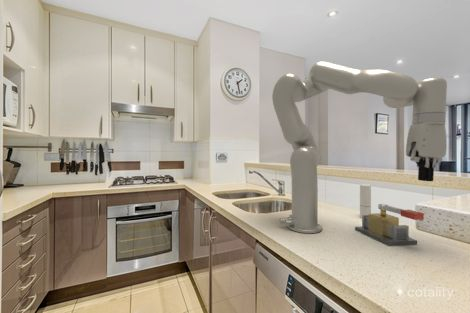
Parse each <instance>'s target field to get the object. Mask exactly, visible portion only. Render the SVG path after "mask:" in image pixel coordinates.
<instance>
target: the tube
mask: <svg viewBox="0 0 470 313" xmlns="http://www.w3.org/2000/svg"><path fill="white" fill-rule="evenodd" d="M371 188H372V184H362V183H361V184H359V218H360V219H362V215H369V214H372V189H371Z"/></svg>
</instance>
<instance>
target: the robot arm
mask: <svg viewBox="0 0 470 313" xmlns="http://www.w3.org/2000/svg"><path fill="white" fill-rule="evenodd" d="M308 74H309V76H308V77H307V78H304V79H301V78H300V77H299V76H298V75H296V74H294V73H286V74H283V75H282V76H280V77H279V79H278V80H277V81H276V83H275V84H274V86H273V90H272V96H271V97H272V98H271V99H272V105H273V109H274V112H275V114H276V117H277V120H278V122H279V123H278V124H279V126H280V129H281V132H282V135H283V137H284V140H285V141H286V142H287V144H290V145H291V146H292V149H293V151H292V152H291V154H290V161H289V162H290V163H289V164H290V171H291V173H290V174H291V214H289V215H288V217H280V218H279V223H280V224H285V225H287V228H288V229H289V230H291V231H293V232H297V233H302V234H317V233H320V232H322V231H323V226H322V225H321V224H319V220H318V216H319V215H318V214H319V212H318V211H319V210H318V203H319V202H318V201H319V200H318V196H319V194H318V193H319V191H318V190H319V189H318V166H319V165H320V163H321V154H320V152H319V151H320V150H319V149H318V146H317V143H316V140H315V139H314V136H313V134H312V131H311V130H310V128H309V126H307V125H306V124H305V123H304V121H303V119H302V117H301V115H300V111H299V108H298V107H297V105H296V103H299V102H300V103H301V102H303V101H305V100H308V99H310V98H314V97H315V96H318V95H320V94H322V93H324V92H326V91H328V90H329V89H330V90H333V91H337V92H339V93H343V94H346V95H354V94H358V93H367V94H371V95H377V96H381V97H383V98H382V100H383V103H384V105H386V107H388V108H391V109H400V108H405V107H411V106H412V115H411V116H412V122H411V124H410V125H409V129H408V134H407V137H406V146H405V155H406V156H407V157H409V158H410V161H411V162H415V163H416V167H417V169H418V172H417V173H418V174H417V180H418V181H423V182H434V176H435V175H434V173H435V171H434V170H435V168H436V166H437V164H438V163H441V162H443V158H444V157H445V156H446V155H447V130H446V126H445V125H446V115H447V114H446V113H447V88H448V83H447V80H446V79H445V78H443V77H430V78H426V79H422V80H419V81H417V80H416V79H415V78H413V77H412V76H409V75H407V74H404V73H399V72H394V71H391V70H385V69H371V68H370V69H364V68H363V69H361V68H360V69H358V68H354V67H350V66H346V65H343V64H338V63H334V62H328V61H324V60H320V61H317V62H315V63H314V64H313V65H312V66H311V67H310V70H309V73H308Z"/></svg>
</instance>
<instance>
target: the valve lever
mask: <svg viewBox="0 0 470 313" xmlns="http://www.w3.org/2000/svg"><path fill="white" fill-rule="evenodd" d="M378 209H379V210H386V212H387V211H388V212H391V213H394V214H398V215H400V217H404V218H407V219H411V220H413V221H419V220H422V221H423V220H424V219H425V217H424V212H420V211H417V212H416V210H413V209H402V208H398V207H394V206H391V205H388V204H384V203H378Z"/></svg>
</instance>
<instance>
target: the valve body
mask: <svg viewBox="0 0 470 313" xmlns="http://www.w3.org/2000/svg"><path fill="white" fill-rule="evenodd" d="M379 210H380V212H378V213H371V214H369V215H362V218H361V223H362V225H361V226H354V230H355V231H356V232H358V233H361V234H362V235H365V236H367V237H369V238H372V239H374V240H375V241H377V242H379V243H381V244H384V245H386V246H388V247H394V246H398V247H399V246H414V245H418V240H417V239H414V238H412V237H409V236H410V229H409V227H410V226H409V225H406V224H402V225H401V224H400V218H399V217H398V216H396V215H391V214H388V213H387V210H381V209H379Z"/></svg>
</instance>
